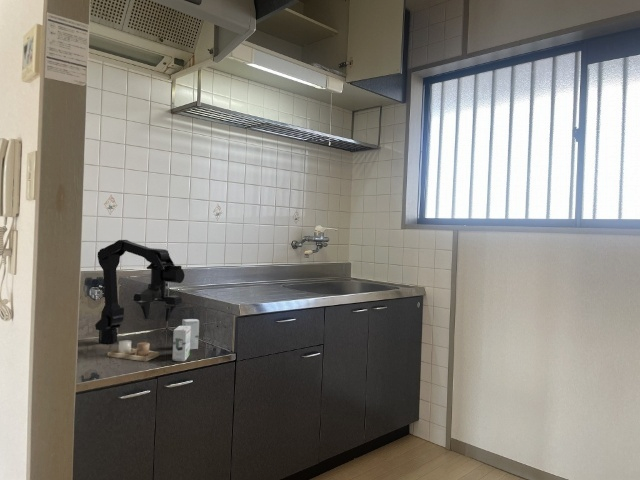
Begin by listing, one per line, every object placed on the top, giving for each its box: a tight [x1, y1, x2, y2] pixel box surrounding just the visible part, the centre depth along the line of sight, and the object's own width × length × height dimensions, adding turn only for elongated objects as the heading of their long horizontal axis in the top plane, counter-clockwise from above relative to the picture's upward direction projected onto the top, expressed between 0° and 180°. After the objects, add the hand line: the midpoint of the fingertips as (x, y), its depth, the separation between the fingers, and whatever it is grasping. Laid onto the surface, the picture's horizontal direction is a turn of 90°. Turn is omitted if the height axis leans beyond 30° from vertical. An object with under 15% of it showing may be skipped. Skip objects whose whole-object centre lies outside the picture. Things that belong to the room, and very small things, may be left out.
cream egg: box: [118, 339, 132, 354], centre depth 186 cm, size 4×4×5 cm
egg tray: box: [107, 347, 160, 362], centre depth 185 cm, size 16×9×2 cm, turn 75°
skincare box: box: [181, 318, 200, 350], centre depth 201 cm, size 6×4×12 cm
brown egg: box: [136, 341, 151, 357], centre depth 184 cm, size 4×4×5 cm
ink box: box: [171, 325, 191, 362], centre depth 188 cm, size 9×5×12 cm, turn 3°
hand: (156, 320), depth 195 cm, fingers open, 9 cm apart
